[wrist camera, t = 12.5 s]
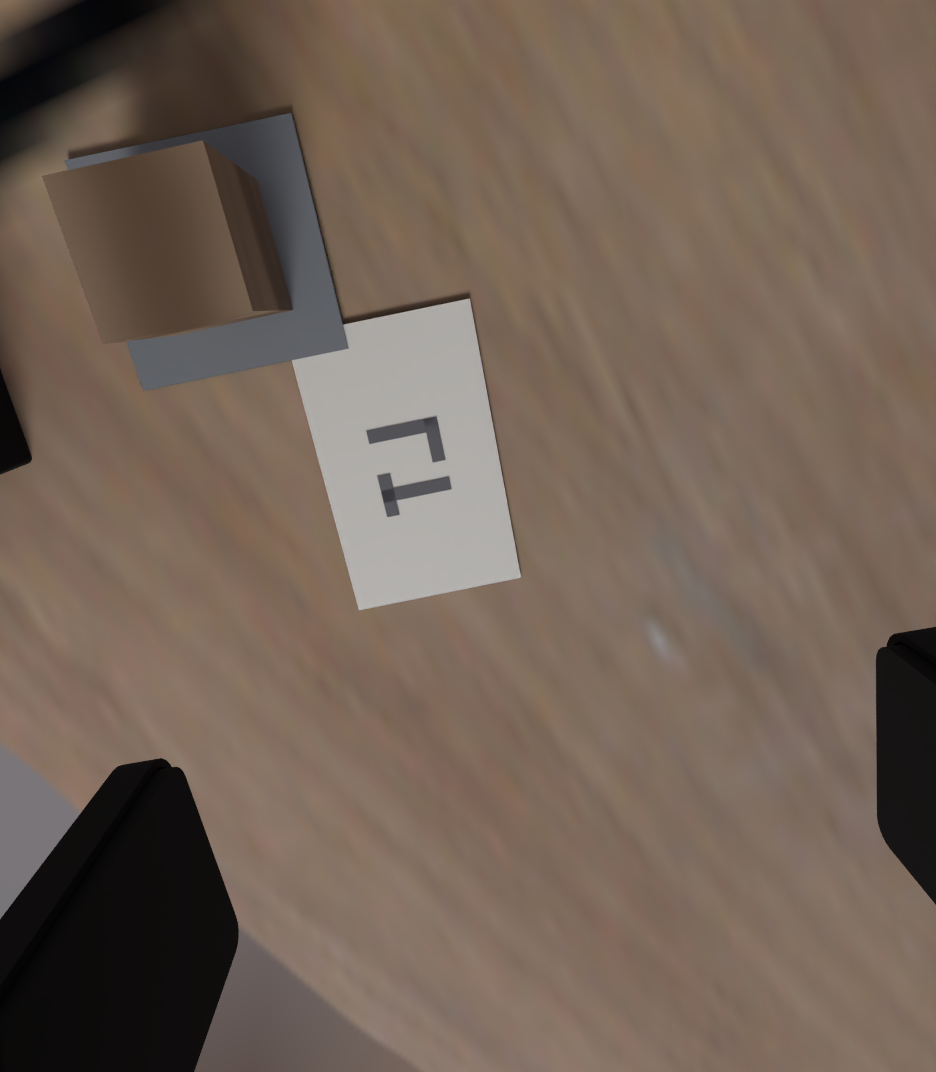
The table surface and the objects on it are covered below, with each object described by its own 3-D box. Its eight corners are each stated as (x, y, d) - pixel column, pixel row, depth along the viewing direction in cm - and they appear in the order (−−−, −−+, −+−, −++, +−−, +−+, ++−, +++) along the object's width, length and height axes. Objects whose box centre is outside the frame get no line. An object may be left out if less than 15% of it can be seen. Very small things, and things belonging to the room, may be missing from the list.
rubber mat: (292, 114, 27) (290, 112, 27) (349, 348, 30) (348, 348, 30) (68, 161, 27) (64, 160, 27) (146, 390, 30) (143, 390, 30)
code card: (469, 298, 30) (469, 298, 29) (520, 575, 34) (521, 577, 34) (286, 336, 30) (285, 336, 30) (359, 608, 34) (358, 610, 34)
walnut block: (257, 180, 28) (202, 140, 21) (292, 309, 29) (252, 311, 23) (135, 207, 28) (42, 176, 21) (177, 335, 29) (103, 343, 23)
